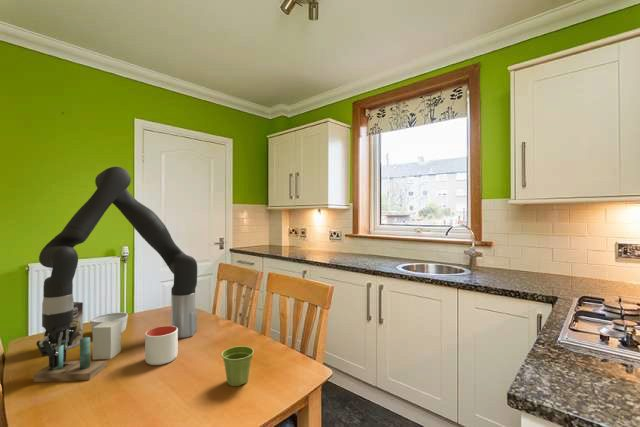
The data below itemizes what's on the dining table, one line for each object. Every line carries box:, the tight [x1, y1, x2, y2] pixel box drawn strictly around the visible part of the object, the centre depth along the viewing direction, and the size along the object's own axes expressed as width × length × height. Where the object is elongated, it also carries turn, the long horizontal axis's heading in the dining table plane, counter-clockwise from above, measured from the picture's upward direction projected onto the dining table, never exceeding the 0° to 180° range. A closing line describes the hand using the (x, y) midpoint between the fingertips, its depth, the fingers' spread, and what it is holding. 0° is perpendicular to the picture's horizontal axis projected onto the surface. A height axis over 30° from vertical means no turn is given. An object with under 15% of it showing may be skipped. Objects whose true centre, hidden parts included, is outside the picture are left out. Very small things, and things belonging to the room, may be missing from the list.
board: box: [61, 336, 107, 382], centre depth 97 cm, size 8×8×11 cm
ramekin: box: [89, 311, 129, 335], centre depth 131 cm, size 13×13×7 cm
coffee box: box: [52, 301, 84, 351], centre depth 117 cm, size 9×6×16 cm
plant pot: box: [220, 345, 255, 387], centre depth 93 cm, size 9×9×9 cm
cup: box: [144, 325, 179, 366], centre depth 107 cm, size 10×10×10 cm
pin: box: [52, 344, 64, 370], centre depth 97 cm, size 3×3×9 cm
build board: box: [33, 360, 80, 383], centre depth 97 cm, size 8×8×2 cm
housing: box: [92, 321, 122, 360], centre depth 110 cm, size 6×6×11 cm
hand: (57, 364), depth 97 cm, fingers closed on pin, 2 cm apart
